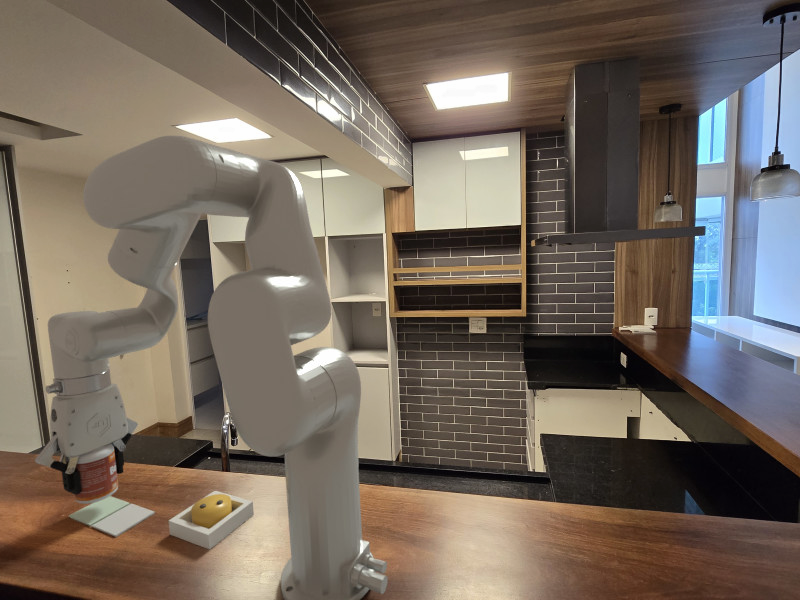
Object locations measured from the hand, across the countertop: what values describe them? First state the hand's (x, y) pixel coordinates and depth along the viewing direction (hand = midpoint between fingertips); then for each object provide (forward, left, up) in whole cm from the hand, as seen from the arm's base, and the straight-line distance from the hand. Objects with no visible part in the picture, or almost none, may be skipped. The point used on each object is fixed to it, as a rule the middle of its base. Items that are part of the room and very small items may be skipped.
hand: (96, 480), depth 72 cm
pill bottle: (0, 0, -3) cm, 3 cm away
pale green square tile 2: (0, 0, -6) cm, 6 cm away
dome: (-23, -5, -5) cm, 24 cm away
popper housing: (-23, -5, -6) cm, 24 cm away
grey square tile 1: (-7, 0, -6) cm, 9 cm away
